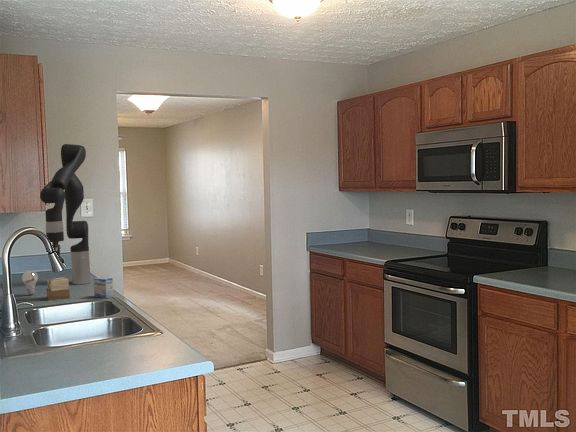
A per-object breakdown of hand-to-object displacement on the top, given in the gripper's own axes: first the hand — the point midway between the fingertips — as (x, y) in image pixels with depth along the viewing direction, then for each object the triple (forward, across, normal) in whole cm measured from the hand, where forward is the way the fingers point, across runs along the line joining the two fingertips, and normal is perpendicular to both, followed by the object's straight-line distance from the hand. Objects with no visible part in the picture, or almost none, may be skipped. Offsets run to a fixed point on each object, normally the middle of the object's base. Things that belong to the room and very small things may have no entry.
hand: (56, 267), depth 256 cm
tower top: (+10, 0, 0) cm, 10 cm away
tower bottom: (+14, 0, 0) cm, 14 cm away
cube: (+1, 0, 0) cm, 1 cm away
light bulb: (+14, -15, -11) cm, 24 cm away
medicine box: (+14, +10, +19) cm, 26 cm away
